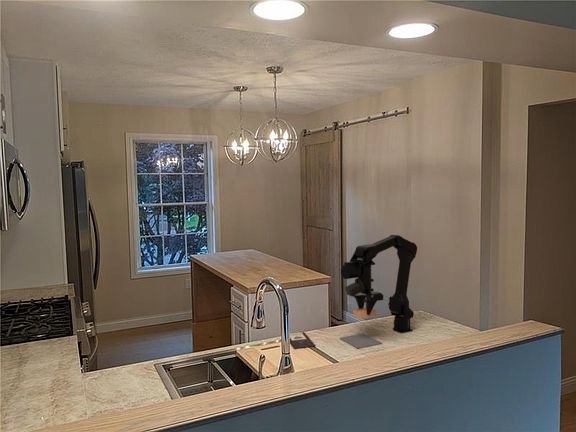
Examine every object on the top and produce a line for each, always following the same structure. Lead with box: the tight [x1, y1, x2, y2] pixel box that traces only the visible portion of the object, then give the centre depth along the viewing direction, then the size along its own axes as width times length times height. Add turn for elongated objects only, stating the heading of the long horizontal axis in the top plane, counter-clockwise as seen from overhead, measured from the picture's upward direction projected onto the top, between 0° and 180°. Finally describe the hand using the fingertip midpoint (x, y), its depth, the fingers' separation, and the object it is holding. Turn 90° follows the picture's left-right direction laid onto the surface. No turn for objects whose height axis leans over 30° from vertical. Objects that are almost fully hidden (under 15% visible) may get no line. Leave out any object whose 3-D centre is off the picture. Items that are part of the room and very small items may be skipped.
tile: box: [352, 307, 377, 320], centre depth 187 cm, size 5×8×2 cm, turn 115°
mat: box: [338, 332, 383, 350], centre depth 187 cm, size 12×14×1 cm
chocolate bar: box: [289, 331, 316, 350], centre depth 190 cm, size 9×1×18 cm
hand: (364, 313), depth 187 cm, fingers closed on tile, 5 cm apart
